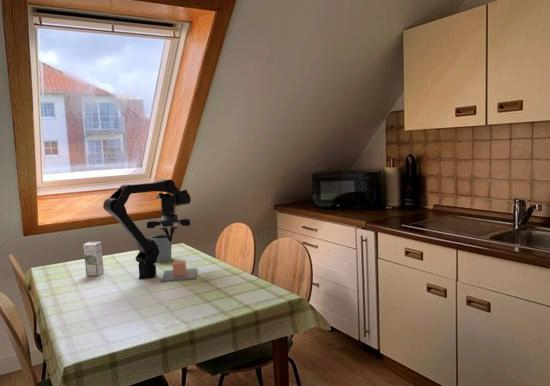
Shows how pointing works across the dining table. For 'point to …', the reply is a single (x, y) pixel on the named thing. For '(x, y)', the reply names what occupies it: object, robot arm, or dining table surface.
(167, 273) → the slate plate
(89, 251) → the syrup box
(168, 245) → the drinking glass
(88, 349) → the dining table surface
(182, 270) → the terracotta block
